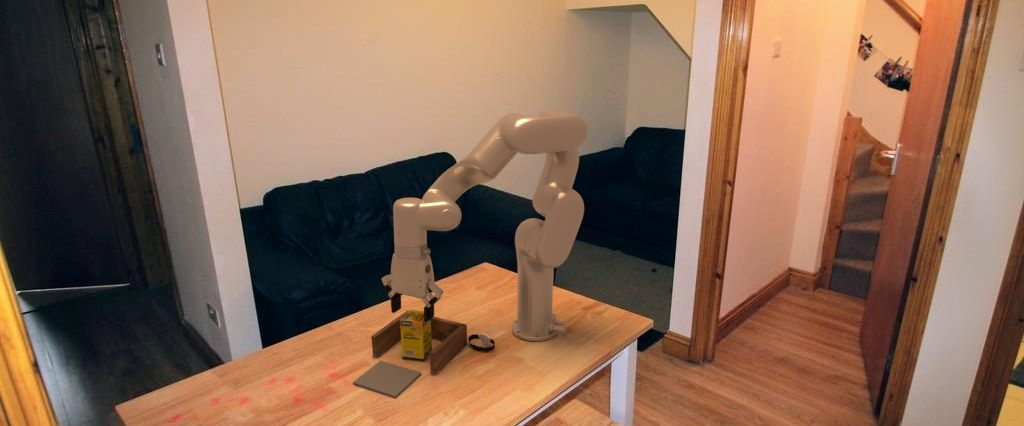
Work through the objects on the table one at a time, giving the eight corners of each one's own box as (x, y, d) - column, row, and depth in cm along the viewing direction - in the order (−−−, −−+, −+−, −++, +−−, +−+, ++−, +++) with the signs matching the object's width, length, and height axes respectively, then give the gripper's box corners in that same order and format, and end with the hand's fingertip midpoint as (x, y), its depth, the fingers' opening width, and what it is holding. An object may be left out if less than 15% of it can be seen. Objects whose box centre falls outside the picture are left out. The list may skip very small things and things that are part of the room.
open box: (467, 345, 139) (466, 324, 138) (435, 375, 126) (434, 353, 125) (409, 329, 147) (407, 310, 145) (373, 357, 134) (371, 336, 132)
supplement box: (424, 362, 132) (422, 322, 129) (401, 359, 133) (399, 320, 130) (432, 349, 137) (430, 311, 134) (410, 346, 139) (408, 308, 135)
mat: (421, 374, 127) (421, 372, 127) (395, 398, 118) (395, 396, 118) (380, 362, 132) (380, 360, 131) (353, 384, 123) (352, 382, 123)
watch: (498, 347, 139) (498, 334, 138) (489, 356, 135) (489, 343, 134) (474, 339, 142) (473, 327, 141) (464, 347, 138) (463, 335, 137)
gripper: (450, 251, 127) (450, 316, 131) (391, 239, 134) (393, 301, 138) (432, 261, 120) (433, 330, 125) (371, 248, 127) (374, 313, 132)
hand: (412, 315), depth 132 cm, fingers open, 9 cm apart
